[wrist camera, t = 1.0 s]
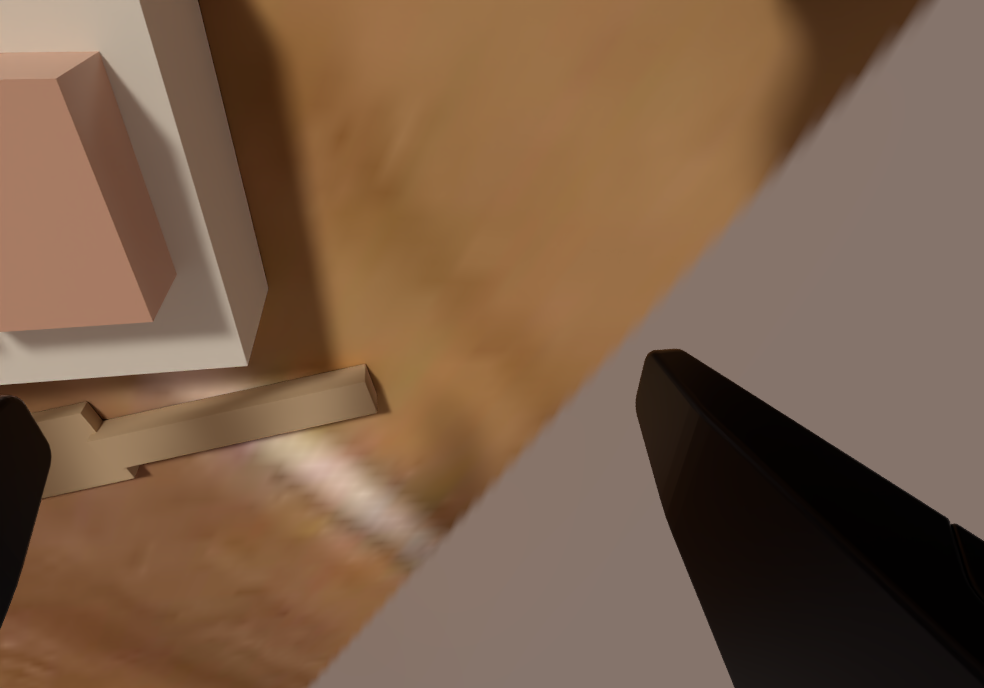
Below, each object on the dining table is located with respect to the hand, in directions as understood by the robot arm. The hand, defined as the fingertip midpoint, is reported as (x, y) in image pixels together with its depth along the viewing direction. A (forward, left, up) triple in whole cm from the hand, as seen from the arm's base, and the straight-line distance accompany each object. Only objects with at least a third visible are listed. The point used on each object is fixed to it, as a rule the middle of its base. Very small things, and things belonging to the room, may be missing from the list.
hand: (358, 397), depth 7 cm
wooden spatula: (+8, +11, -12) cm, 18 cm away
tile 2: (+7, 0, -8) cm, 11 cm away
